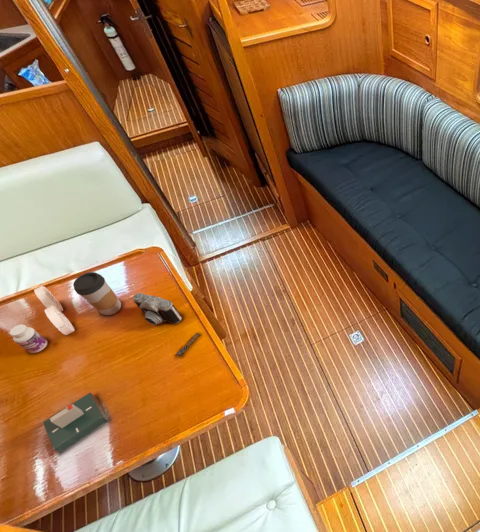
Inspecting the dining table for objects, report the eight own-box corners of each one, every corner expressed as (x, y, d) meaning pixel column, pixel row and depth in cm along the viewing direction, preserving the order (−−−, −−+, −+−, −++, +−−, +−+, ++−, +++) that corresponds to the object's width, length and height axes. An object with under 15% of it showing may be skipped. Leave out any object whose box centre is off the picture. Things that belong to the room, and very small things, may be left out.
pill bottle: (31, 356, 124) (9, 340, 117) (26, 346, 126) (4, 330, 119) (50, 345, 126) (29, 329, 119) (45, 336, 129) (24, 319, 122)
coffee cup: (111, 296, 140) (87, 268, 129) (130, 302, 138) (106, 274, 127) (92, 314, 135) (65, 286, 124) (111, 321, 133) (85, 293, 122)
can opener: (197, 334, 129) (196, 332, 129) (202, 336, 129) (201, 335, 128) (175, 355, 124) (173, 353, 123) (180, 358, 123) (178, 356, 123)
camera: (135, 320, 133) (119, 302, 126) (149, 305, 137) (135, 287, 130) (171, 332, 130) (157, 314, 123) (184, 316, 134) (172, 298, 127)
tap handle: (62, 428, 106) (50, 421, 103) (60, 424, 107) (48, 418, 103) (84, 413, 109) (73, 407, 105) (82, 410, 109) (71, 403, 106)
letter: (50, 302, 138) (30, 284, 131) (57, 298, 139) (38, 280, 132) (70, 340, 128) (50, 323, 120) (78, 336, 129) (58, 318, 121)
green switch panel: (60, 452, 105) (53, 449, 102) (49, 426, 109) (42, 421, 107) (108, 420, 111) (101, 416, 108) (95, 396, 115) (89, 391, 113)
